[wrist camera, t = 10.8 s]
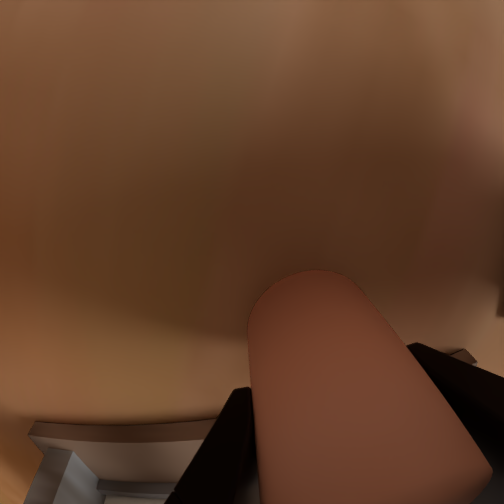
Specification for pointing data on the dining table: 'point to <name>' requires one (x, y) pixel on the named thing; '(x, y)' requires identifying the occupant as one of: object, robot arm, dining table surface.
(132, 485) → the board
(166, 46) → the dining table surface
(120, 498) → the block
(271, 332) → the dowel
